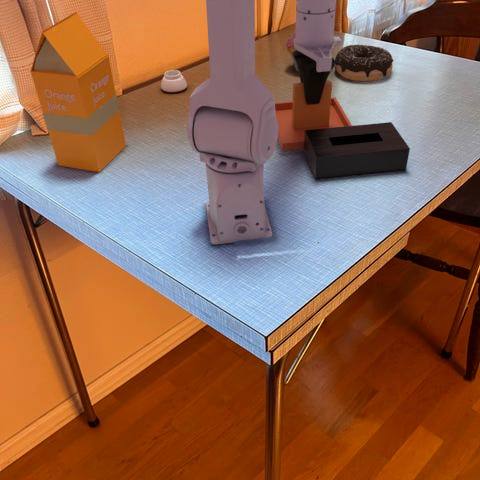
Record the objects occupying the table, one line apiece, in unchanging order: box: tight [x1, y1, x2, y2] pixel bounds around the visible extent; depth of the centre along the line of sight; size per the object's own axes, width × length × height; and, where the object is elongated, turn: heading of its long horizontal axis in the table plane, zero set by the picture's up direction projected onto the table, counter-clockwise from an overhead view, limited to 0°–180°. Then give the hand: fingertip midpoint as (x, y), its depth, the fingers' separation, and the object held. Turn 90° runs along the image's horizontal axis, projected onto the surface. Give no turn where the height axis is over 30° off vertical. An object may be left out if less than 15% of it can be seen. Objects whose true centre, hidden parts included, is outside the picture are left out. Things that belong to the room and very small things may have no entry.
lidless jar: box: [160, 69, 188, 93], centre depth 108 cm, size 5×3×5 cm
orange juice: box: [30, 11, 127, 173], centre depth 84 cm, size 8×9×20 cm
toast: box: [292, 79, 333, 129], centre depth 91 cm, size 1×6×7 cm, turn 97°
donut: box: [334, 44, 394, 82], centre depth 109 cm, size 11×12×4 cm
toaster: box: [303, 121, 411, 181], centre depth 84 cm, size 9×14×4 cm, turn 97°
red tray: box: [275, 96, 353, 152], centre depth 94 cm, size 15×12×2 cm
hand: (311, 100), depth 91 cm, fingers closed on toast
